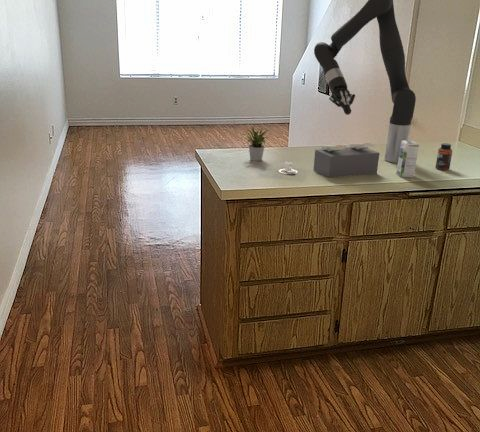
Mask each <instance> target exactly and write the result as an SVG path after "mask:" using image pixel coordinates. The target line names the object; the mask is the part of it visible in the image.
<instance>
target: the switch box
mask: <svg viewBox="0 0 480 432" xmlns="http://www.w3.org/2000/svg"><path fill="white" fill-rule="evenodd" d="M379 158H380V152H378V151H376V150H373V149H370V148H369V147H368V148H367V149H356V148H350V146H347V147H346V149H340V150H339V151H327V149H322V148H318V149H316V148H315V151H314V160H313V171H315V172H316V173H318V174H320V175H322V176H324V177H325V178H328V179H331V178H334V179H335V178H342V177H343V178H344V177H354V176H361V175H362V176H363V175H375V174H377V173H378V169H379V168H378V167H379V160H380V159H379Z"/></svg>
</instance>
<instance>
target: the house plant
mask: <svg viewBox="0 0 480 432" xmlns="http://www.w3.org/2000/svg"><path fill="white" fill-rule="evenodd" d="M260 124H261V123H259V124H258V126H257V130H256V131H255V128H254V126H253V125H252V124H250V128H251V130H250V129H249V128H247V126H246V125H243V124H242V126H244V127H245V128H246V130H245V132H246V133H247V134H248V135H249V136H245V139H246V140H247V143H250V144H249V145H248V149H249V151H248V152H249V159H250V160H251V161H254V162H260V161H262V159H263V156H264V151H265V145H264V144H265V143H266V141H269V139H268V138H270V137H267V136H265V135H266V133H267V132H268V131H269V130H271V129H272V127H269V128H268V129H266V130H265V131H263V127H260ZM259 128H260V129H259ZM262 131H263V132H262Z"/></svg>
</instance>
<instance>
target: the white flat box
mask: <svg viewBox="0 0 480 432" xmlns="http://www.w3.org/2000/svg"><path fill="white" fill-rule="evenodd" d="M349 147H350V148H356V149H367V148H368V149H369V148H374V147H375V143H373V142H371V143H369V142H368V143H367V142H366V143H365V142H364V143H350V144H349Z"/></svg>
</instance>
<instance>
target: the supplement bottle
mask: <svg viewBox="0 0 480 432" xmlns="http://www.w3.org/2000/svg"><path fill="white" fill-rule="evenodd" d="M451 147H452V144H450V143H448V142H443V143H442V142H441V146H440V147H439V148H438V149H437V155H436V161H435V162H436V163H435V169H437V170H439V171H448V170H450V167H451V162H452V157H453V150H452V148H451Z"/></svg>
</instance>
